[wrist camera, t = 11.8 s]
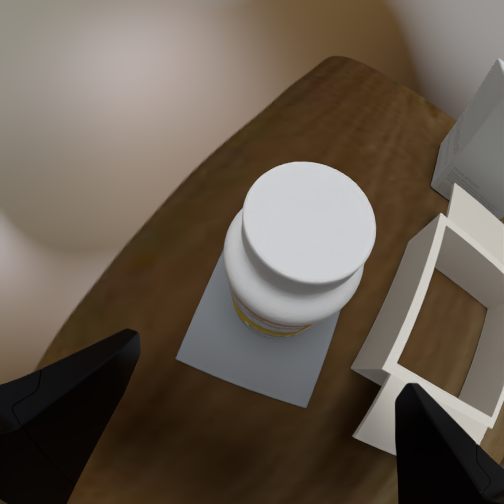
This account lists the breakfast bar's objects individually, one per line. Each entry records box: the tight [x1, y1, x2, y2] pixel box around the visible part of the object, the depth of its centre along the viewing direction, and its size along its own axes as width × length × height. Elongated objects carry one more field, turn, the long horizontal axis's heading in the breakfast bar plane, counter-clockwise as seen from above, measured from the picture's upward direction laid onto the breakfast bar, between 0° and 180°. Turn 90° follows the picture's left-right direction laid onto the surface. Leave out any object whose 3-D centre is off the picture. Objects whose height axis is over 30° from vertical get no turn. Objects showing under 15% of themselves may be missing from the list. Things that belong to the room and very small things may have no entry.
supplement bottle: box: [224, 162, 376, 338], centre depth 13 cm, size 5×5×10 cm
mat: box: [176, 249, 341, 408], centre depth 17 cm, size 12×8×1 cm, turn 159°
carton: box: [350, 183, 504, 455], centre depth 15 cm, size 17×10×4 cm, turn 147°
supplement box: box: [431, 58, 504, 220], centre depth 16 cm, size 7×7×13 cm
